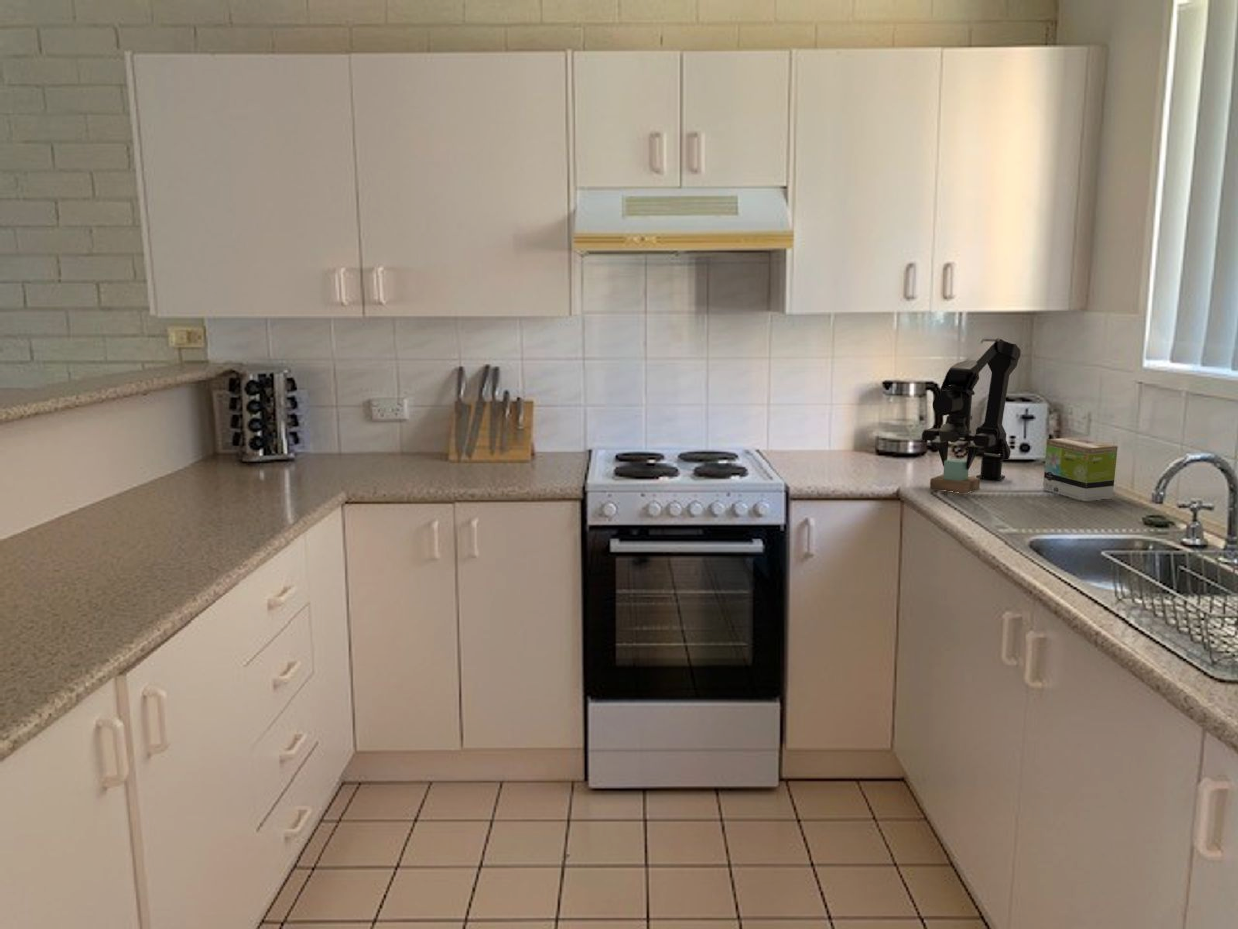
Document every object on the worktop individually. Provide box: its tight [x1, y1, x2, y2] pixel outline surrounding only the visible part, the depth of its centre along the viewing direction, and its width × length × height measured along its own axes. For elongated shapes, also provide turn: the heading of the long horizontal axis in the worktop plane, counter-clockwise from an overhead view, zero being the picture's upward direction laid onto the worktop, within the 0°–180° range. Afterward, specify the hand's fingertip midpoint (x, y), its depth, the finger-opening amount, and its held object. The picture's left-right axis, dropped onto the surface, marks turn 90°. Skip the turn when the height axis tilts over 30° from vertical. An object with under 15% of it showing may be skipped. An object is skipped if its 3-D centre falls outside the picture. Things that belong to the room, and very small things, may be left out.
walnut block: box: [929, 474, 981, 494], centre depth 257 cm, size 10×10×4 cm
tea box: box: [1042, 436, 1119, 502], centre depth 248 cm, size 15×10×15 cm, turn 19°
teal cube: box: [942, 458, 969, 481], centre depth 257 cm, size 5×5×5 cm
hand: (956, 468), depth 257 cm, fingers open, 6 cm apart
